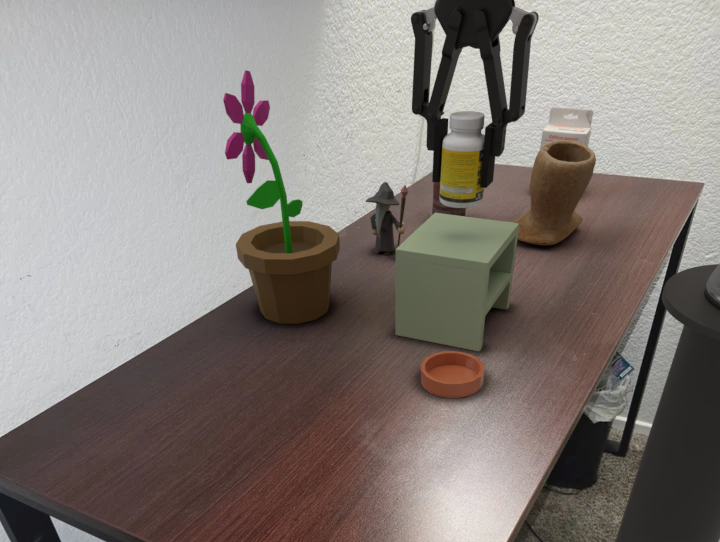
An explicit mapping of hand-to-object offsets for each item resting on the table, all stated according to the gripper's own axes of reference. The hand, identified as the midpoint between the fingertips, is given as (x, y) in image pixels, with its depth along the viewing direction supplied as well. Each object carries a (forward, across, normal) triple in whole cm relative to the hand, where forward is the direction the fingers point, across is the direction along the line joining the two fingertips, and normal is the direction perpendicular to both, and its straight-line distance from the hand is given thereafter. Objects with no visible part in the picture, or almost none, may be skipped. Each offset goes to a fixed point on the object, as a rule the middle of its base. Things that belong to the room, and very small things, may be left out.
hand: (462, 181), depth 81 cm
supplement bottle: (+3, 0, 0) cm, 3 cm away
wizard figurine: (+19, -18, +19) cm, 32 cm away
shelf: (+19, 0, 0) cm, 19 cm away
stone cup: (+19, +5, +36) cm, 41 cm away
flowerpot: (+19, -23, -5) cm, 30 cm away
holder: (+19, +5, -15) cm, 25 cm away
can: (+19, -14, +37) cm, 44 cm away
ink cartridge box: (+19, +1, +59) cm, 62 cm away
